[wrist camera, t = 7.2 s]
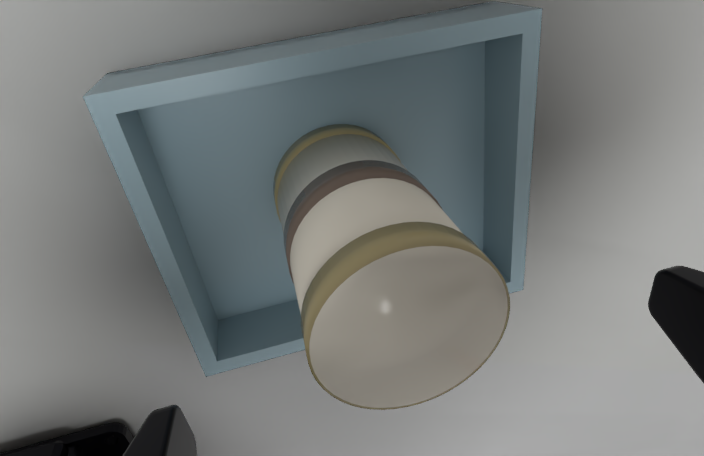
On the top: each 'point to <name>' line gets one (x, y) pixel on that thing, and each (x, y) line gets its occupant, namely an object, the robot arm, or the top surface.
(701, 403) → the top surface
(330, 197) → the fuse
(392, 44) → the tray
